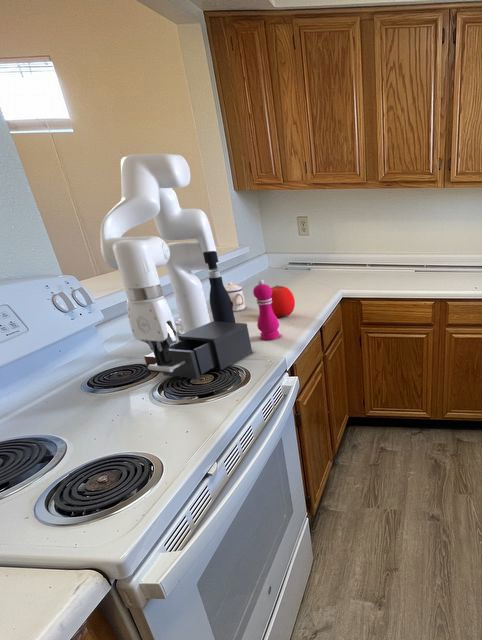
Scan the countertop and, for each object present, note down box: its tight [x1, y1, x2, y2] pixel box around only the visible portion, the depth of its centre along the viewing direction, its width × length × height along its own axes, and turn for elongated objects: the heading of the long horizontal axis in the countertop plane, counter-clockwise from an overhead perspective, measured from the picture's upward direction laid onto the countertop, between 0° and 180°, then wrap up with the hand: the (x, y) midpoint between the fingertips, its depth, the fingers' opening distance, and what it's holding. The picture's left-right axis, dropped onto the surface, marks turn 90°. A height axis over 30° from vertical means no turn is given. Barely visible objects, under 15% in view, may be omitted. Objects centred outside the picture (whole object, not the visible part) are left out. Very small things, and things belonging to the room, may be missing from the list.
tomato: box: [270, 284, 296, 318], centre depth 167 cm, size 12×12×13 cm
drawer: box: [147, 339, 218, 380], centre depth 115 cm, size 19×11×8 cm, turn 163°
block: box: [143, 351, 162, 373], centre depth 121 cm, size 4×4×4 cm
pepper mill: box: [252, 279, 280, 341], centre depth 141 cm, size 7×7×20 cm
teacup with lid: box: [224, 281, 246, 312], centre depth 179 cm, size 12×9×12 cm
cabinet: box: [177, 320, 253, 372], centre depth 125 cm, size 15×13×10 cm
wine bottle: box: [203, 250, 236, 323], centre depth 134 cm, size 6×6×30 cm
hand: (164, 363), depth 108 cm, fingers closed
